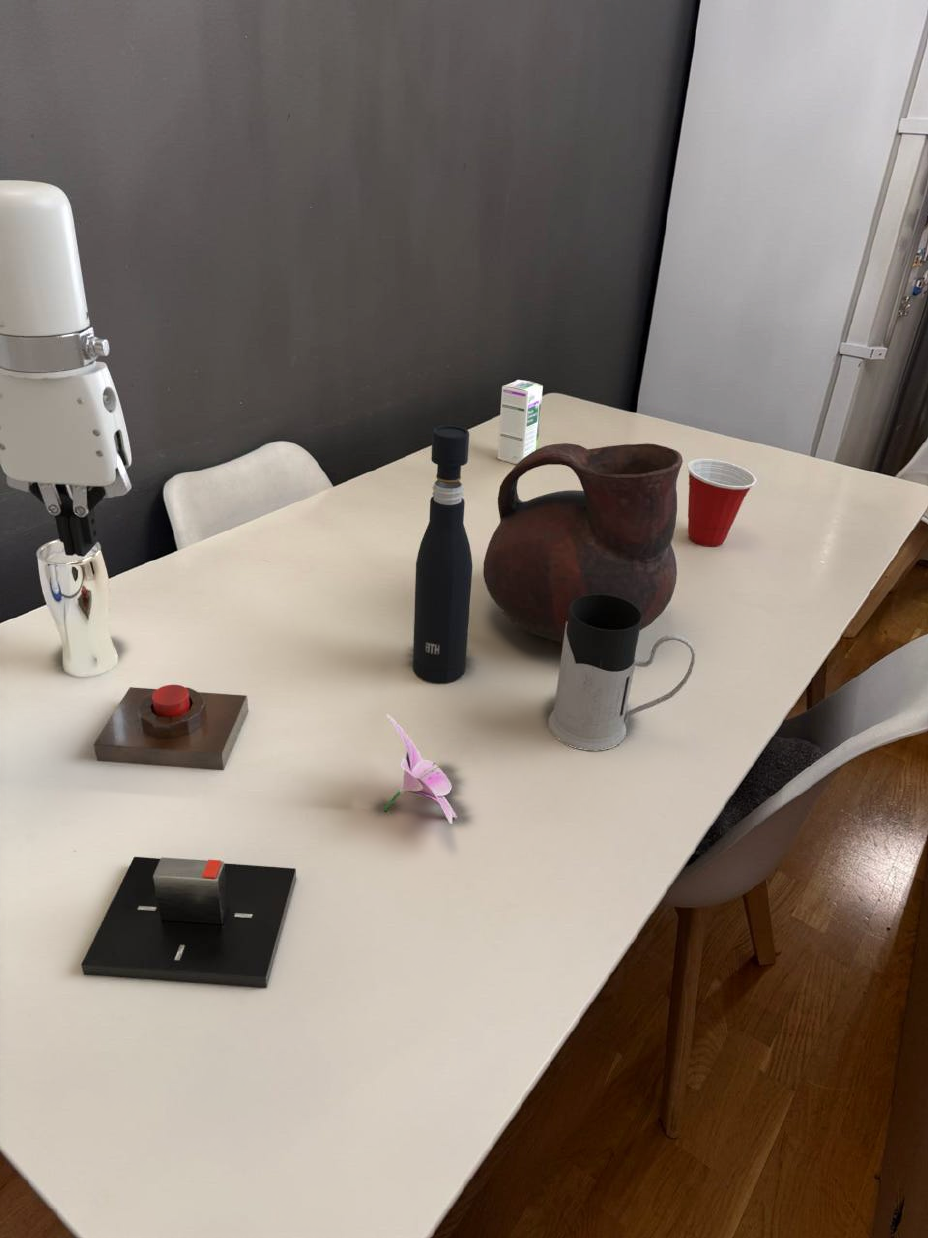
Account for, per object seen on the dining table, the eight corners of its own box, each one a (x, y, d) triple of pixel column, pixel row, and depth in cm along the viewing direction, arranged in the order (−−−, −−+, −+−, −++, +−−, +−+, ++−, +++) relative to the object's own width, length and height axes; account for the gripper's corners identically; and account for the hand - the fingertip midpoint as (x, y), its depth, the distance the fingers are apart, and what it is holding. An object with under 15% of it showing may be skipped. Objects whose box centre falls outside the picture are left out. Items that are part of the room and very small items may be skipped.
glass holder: (556, 696, 104) (572, 584, 96) (678, 723, 101) (704, 610, 93) (540, 740, 97) (556, 623, 89) (671, 770, 93) (698, 652, 86)
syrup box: (522, 466, 167) (529, 390, 160) (495, 459, 170) (501, 384, 163) (536, 458, 172) (544, 384, 164) (510, 451, 174) (517, 378, 167)
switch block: (96, 761, 90) (90, 730, 88) (132, 703, 98) (127, 673, 96) (223, 770, 90) (220, 739, 88) (248, 711, 98) (246, 681, 96)
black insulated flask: (455, 651, 111) (470, 419, 96) (472, 680, 106) (490, 439, 90) (406, 658, 109) (413, 422, 94) (420, 687, 104) (430, 443, 88)
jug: (539, 559, 134) (558, 398, 121) (694, 615, 122) (733, 442, 109) (441, 624, 116) (451, 443, 103) (612, 697, 104) (646, 502, 92)
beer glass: (129, 669, 104) (110, 555, 96) (67, 686, 100) (42, 569, 92) (112, 641, 109) (93, 531, 101) (52, 657, 105) (27, 543, 97)
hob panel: (86, 986, 68) (80, 963, 66) (137, 876, 77) (133, 855, 76) (267, 999, 68) (265, 977, 66) (297, 888, 77) (295, 866, 76)
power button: (149, 717, 91) (146, 703, 90) (160, 696, 94) (158, 683, 93) (183, 719, 91) (182, 706, 90) (194, 699, 94) (192, 685, 93)
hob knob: (160, 920, 70) (152, 874, 68) (168, 901, 72) (160, 854, 69) (222, 924, 70) (217, 878, 68) (229, 905, 72) (224, 859, 69)
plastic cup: (739, 559, 138) (756, 488, 132) (669, 546, 141) (683, 475, 135) (743, 532, 147) (759, 464, 141) (678, 520, 150) (691, 453, 144)
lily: (438, 885, 80) (490, 801, 77) (324, 822, 79) (373, 735, 77) (451, 826, 91) (497, 751, 89) (352, 771, 91) (395, 694, 89)
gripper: (151, 344, 76) (175, 537, 85) (-23, 332, 76) (20, 527, 85) (117, 367, 69) (147, 574, 79) (-72, 354, 69) (-20, 562, 79)
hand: (81, 549), depth 82 cm, fingers closed
